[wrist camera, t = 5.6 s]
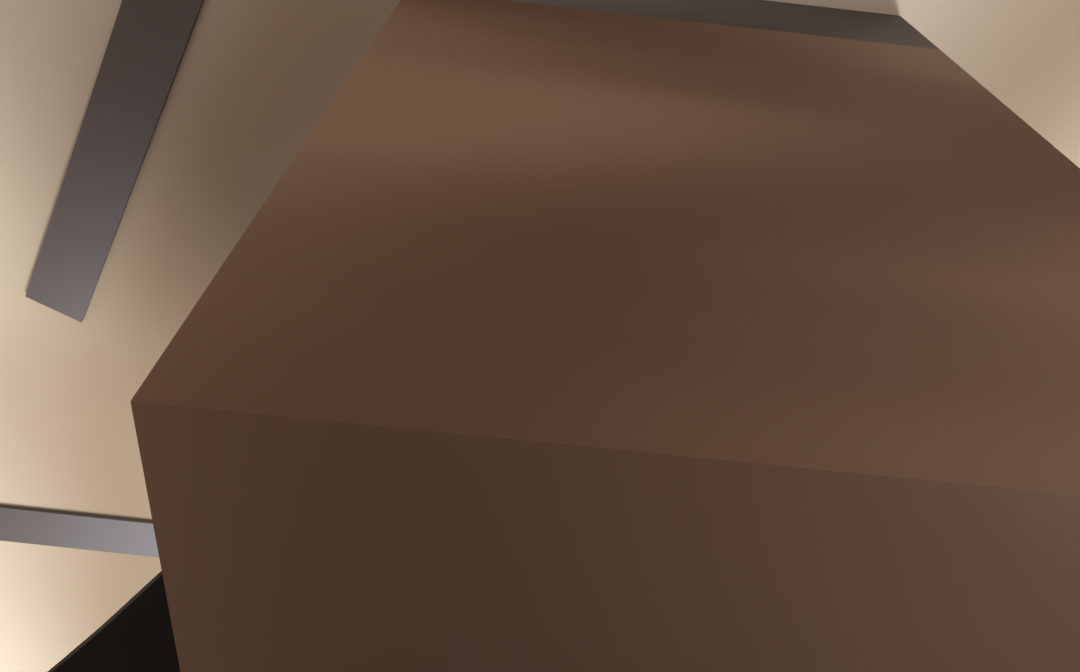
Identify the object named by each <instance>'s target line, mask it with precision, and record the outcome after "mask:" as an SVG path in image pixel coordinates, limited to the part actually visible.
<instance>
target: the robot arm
mask: <svg viewBox="0 0 1080 672" xmlns="http://www.w3.org/2000/svg"><path fill="white" fill-rule="evenodd" d="M48 672H180V667H179V662H178V656H177V651H176V645H175V640H174V635H173V629H172V624H171V618H170V613H169V608H168V602H167V597H166V591H165V586H164V581H163V575H162V571H161V572H160V573H158V574H157V575H156V576H155V577H154V578H153V579H152V580H151V581H150V582H149V583H148V584H146V585H145V586H144V587H143V588H142V589H141V590H140V591H139V592H138V593H137V594H136V595H134V596H133V597H132V598H131V599H130V600H129V601H128V602H127V603H126V604H125V605H124V606H122V607H121V608H120V609H119V610H118V611H117V612H116V613H115V614H114V615H113V616H112V617H110V618H109V619H108V620H107V621H106V622H105V623H104V624H103V625H102V626H101V627H99V628H98V629H97V630H96V631H95V632H94V633H93V634H91V635H90V636H89V637H88V638H87V639H86V640H84V641H83V642H82V643H81V644H80V645H78V646H77V647H76V648H75V649H74V650H73V651H71V652H70V653H69V654H68V655H67V656H66V657H64V658H63V659H62V660H61V661H60V662H58V663H57V664H56V665H55V666H54V667H52V668H51V669H50V670H49V671H48Z"/></svg>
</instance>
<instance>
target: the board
mask: <svg viewBox="0 0 1080 672" xmlns="http://www.w3.org/2000/svg"><path fill="white" fill-rule="evenodd" d="M399 1H400V0H0V672H48V671H49V670H50V669H51V668H52V667H54V666H55V665H56V664H57V663H58V662H60V661H61V660H62V659H63V658H64V657H66V656H67V655H68V654H69V653H70V652H71V651H73V650H74V649H75V648H76V647H77V646H78V645H80V644H81V643H82V642H83V641H84V640H86V639H87V638H88V637H89V636H90V635H91V634H93V633H94V632H95V631H96V630H97V629H98V628H99V627H101V626H102V625H103V624H104V623H105V622H106V621H107V620H108V619H109V618H110V617H112V616H113V615H114V614H115V613H116V612H117V611H118V610H119V609H120V608H121V607H122V606H124V605H125V604H126V603H127V602H128V601H129V600H130V599H131V598H132V597H133V596H134V595H136V594H137V593H138V592H139V591H140V590H141V589H142V588H143V587H144V586H145V585H146V584H148V583H149V582H150V581H151V580H152V579H153V578H154V577H155V576H156V575H157V574H158V573H160V572H161V571H162V570H161V564H160V559H159V554H158V548H157V543H156V537H155V532H154V527H153V521H152V516H151V510H150V505H149V499H148V494H147V489H146V483H145V478H144V472H143V467H142V462H141V456H140V451H139V445H138V440H137V435H136V429H135V424H134V418H133V413H132V408H131V402H130V401H131V400H132V398H133V397H134V395H135V394H136V392H137V391H138V389H139V388H140V386H141V385H142V383H143V382H144V380H145V379H146V377H147V376H148V374H149V373H150V371H151V370H152V368H153V367H154V365H155V364H156V362H157V361H158V359H159V358H160V357H161V355H162V354H163V352H164V351H165V349H166V348H167V346H168V345H169V343H170V342H171V340H172V339H173V337H174V336H175V334H176V333H177V331H178V330H179V328H180V327H181V325H182V324H183V322H184V321H185V319H186V318H187V316H188V315H189V313H190V312H191V310H192V309H193V307H194V306H195V305H196V303H197V302H198V300H199V299H200V297H201V296H202V294H203V293H204V291H205V290H206V288H207V287H208V285H209V284H210V282H211V281H212V279H213V278H214V276H215V275H216V273H217V272H218V270H219V269H220V267H221V266H222V264H223V263H224V261H225V260H226V258H227V257H228V255H229V254H230V252H231V251H232V250H233V248H234V247H235V245H236V244H237V242H238V241H239V239H240V238H241V236H242V235H243V233H244V232H245V230H246V229H247V227H248V226H249V224H250V223H251V221H252V220H253V218H254V217H255V215H256V214H257V212H258V211H259V209H260V208H261V206H262V205H263V203H264V202H265V200H266V199H267V197H268V196H269V195H270V193H271V192H272V190H273V189H274V187H275V186H276V184H277V183H278V181H279V180H280V178H281V177H282V175H283V174H284V172H285V171H286V169H287V168H288V166H289V165H290V163H291V162H292V160H293V159H294V157H295V156H296V154H297V153H298V151H299V150H300V148H301V147H302V145H303V144H304V143H305V141H306V140H307V138H308V137H309V135H310V134H311V132H312V131H313V129H314V128H315V126H316V125H317V123H318V122H319V120H320V119H321V117H322V116H323V114H324V113H325V111H326V110H327V108H328V107H329V105H330V104H331V102H332V101H333V99H334V98H335V96H336V95H337V93H338V92H339V90H340V89H341V88H342V86H343V85H344V83H345V82H346V80H347V79H348V77H349V76H350V74H351V73H352V71H353V70H354V68H355V67H356V65H357V64H358V62H359V61H360V59H361V58H362V56H363V55H364V53H365V52H366V50H367V49H368V47H369V46H370V44H371V43H372V41H373V40H374V38H375V37H376V35H377V34H378V33H379V31H380V30H381V28H382V27H383V25H384V24H385V22H386V21H387V19H388V18H389V16H390V15H391V13H392V12H393V10H394V9H395V7H396V6H397V4H398V3H399ZM766 1H775V2H784V3H793V4H802V5H810V6H819V7H828V8H837V9H846V10H854V11H863V12H872V13H881V14H890V15H898V16H901V17H902V18H903V19H905V20H906V21H907V22H908V23H909V24H910V25H912V26H913V27H914V28H915V29H916V30H917V31H919V32H920V33H921V34H922V35H923V36H925V37H926V38H927V39H928V40H929V41H930V42H932V43H933V44H934V45H935V46H936V47H938V48H939V49H940V50H941V51H942V52H943V53H945V54H946V55H947V56H948V57H949V58H950V59H952V60H953V61H954V62H955V63H956V64H958V65H959V66H960V67H961V68H962V69H963V70H965V71H966V72H967V73H968V74H969V75H970V76H972V77H973V78H974V79H975V80H976V81H978V82H979V83H980V84H981V85H982V86H983V87H985V88H986V89H987V90H988V91H989V92H990V93H992V94H993V95H994V96H995V97H996V98H998V99H999V100H1000V101H1001V102H1002V103H1003V104H1005V105H1006V106H1007V107H1008V108H1009V109H1011V110H1012V111H1013V112H1014V113H1015V114H1016V115H1018V116H1019V117H1020V118H1021V119H1022V120H1023V121H1025V122H1026V123H1027V124H1028V125H1029V126H1031V127H1032V128H1033V129H1034V130H1035V131H1036V132H1038V133H1039V134H1040V135H1041V136H1042V137H1043V138H1045V139H1046V140H1047V141H1048V142H1049V143H1051V144H1052V145H1053V146H1054V147H1055V148H1056V149H1058V150H1059V151H1060V152H1061V153H1062V154H1063V155H1065V156H1066V157H1067V158H1068V159H1069V160H1071V161H1072V162H1073V163H1074V164H1075V165H1076V166H1078V167H1079V168H1080V0H766Z"/></svg>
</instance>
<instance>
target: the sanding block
mask: <svg viewBox="0 0 1080 672" xmlns="http://www.w3.org/2000/svg"><path fill="white" fill-rule="evenodd" d="M130 402H131V408H132V413H133V418H134V424H135V429H136V435H137V440H138V445H139V451H140V456H141V462H142V467H143V472H144V478H145V483H146V489H147V494H148V499H149V505H150V510H151V516H152V521H153V527H154V532H155V537H156V543H157V548H158V554H159V559H160V564H161V570H162V575H163V581H164V586H165V591H166V597H167V602H168V608H169V613H170V618H171V624H172V629H173V635H174V640H175V645H176V651H177V656H178V662H179V667H180V672H1080V168H1079V167H1078V166H1076V165H1075V164H1074V163H1073V162H1072V161H1071V160H1069V159H1068V158H1067V157H1066V156H1065V155H1063V154H1062V153H1061V152H1060V151H1059V150H1058V149H1056V148H1055V147H1054V146H1053V145H1052V144H1051V143H1049V142H1048V141H1047V140H1046V139H1045V138H1043V137H1042V136H1041V135H1040V134H1039V133H1038V132H1036V131H1035V130H1034V129H1033V128H1032V127H1031V126H1029V125H1028V124H1027V123H1026V122H1025V121H1023V120H1022V119H1021V118H1020V117H1019V116H1018V115H1016V114H1015V113H1014V112H1013V111H1012V110H1011V109H1009V108H1008V107H1007V106H1006V105H1005V104H1003V103H1002V102H1001V101H1000V100H999V99H998V98H996V97H995V96H994V95H993V94H992V93H990V92H989V91H988V90H987V89H986V88H985V87H983V86H982V85H981V84H980V83H979V82H978V81H976V80H975V79H974V78H973V77H972V76H970V75H969V74H968V73H967V72H966V71H965V70H963V69H962V68H961V67H960V66H959V65H958V64H956V63H955V62H954V61H953V60H952V59H950V58H949V57H948V56H947V55H946V54H945V53H943V52H942V51H941V50H940V49H939V48H938V47H936V46H935V45H934V44H933V43H932V42H930V41H929V40H928V39H927V38H926V37H925V36H923V35H922V34H921V33H920V32H919V31H917V30H916V29H915V28H914V27H913V26H912V25H910V24H909V23H908V22H907V21H906V20H905V19H903V18H902V17H901V16H898V15H890V14H881V13H872V12H863V11H854V10H846V9H837V8H828V7H819V6H810V5H802V4H793V3H784V2H775V1H766V0H400V1H399V3H398V4H397V6H396V7H395V9H394V10H393V12H392V13H391V15H390V16H389V18H388V19H387V21H386V22H385V24H384V25H383V27H382V28H381V30H380V31H379V33H378V34H377V35H376V37H375V38H374V40H373V41H372V43H371V44H370V46H369V47H368V49H367V50H366V52H365V53H364V55H363V56H362V58H361V59H360V61H359V62H358V64H357V65H356V67H355V68H354V70H353V71H352V73H351V74H350V76H349V77H348V79H347V80H346V82H345V83H344V85H343V86H342V88H341V89H340V90H339V92H338V93H337V95H336V96H335V98H334V99H333V101H332V102H331V104H330V105H329V107H328V108H327V110H326V111H325V113H324V114H323V116H322V117H321V119H320V120H319V122H318V123H317V125H316V126H315V128H314V129H313V131H312V132H311V134H310V135H309V137H308V138H307V140H306V141H305V143H304V144H303V145H302V147H301V148H300V150H299V151H298V153H297V154H296V156H295V157H294V159H293V160H292V162H291V163H290V165H289V166H288V168H287V169H286V171H285V172H284V174H283V175H282V177H281V178H280V180H279V181H278V183H277V184H276V186H275V187H274V189H273V190H272V192H271V193H270V195H269V196H268V197H267V199H266V200H265V202H264V203H263V205H262V206H261V208H260V209H259V211H258V212H257V214H256V215H255V217H254V218H253V220H252V221H251V223H250V224H249V226H248V227H247V229H246V230H245V232H244V233H243V235H242V236H241V238H240V239H239V241H238V242H237V244H236V245H235V247H234V248H233V250H232V251H231V252H230V254H229V255H228V257H227V258H226V260H225V261H224V263H223V264H222V266H221V267H220V269H219V270H218V272H217V273H216V275H215V276H214V278H213V279H212V281H211V282H210V284H209V285H208V287H207V288H206V290H205V291H204V293H203V294H202V296H201V297H200V299H199V300H198V302H197V303H196V305H195V306H194V307H193V309H192V310H191V312H190V313H189V315H188V316H187V318H186V319H185V321H184V322H183V324H182V325H181V327H180V328H179V330H178V331H177V333H176V334H175V336H174V337H173V339H172V340H171V342H170V343H169V345H168V346H167V348H166V349H165V351H164V352H163V354H162V355H161V357H160V358H159V359H158V361H157V362H156V364H155V365H154V367H153V368H152V370H151V371H150V373H149V374H148V376H147V377H146V379H145V380H144V382H143V383H142V385H141V386H140V388H139V389H138V391H137V392H136V394H135V395H134V397H133V398H132V400H131V401H130Z"/></svg>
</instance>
